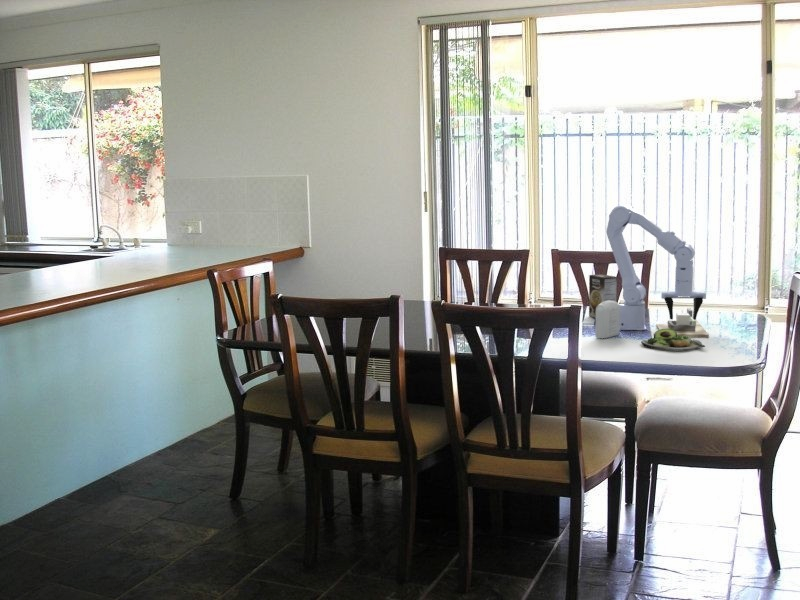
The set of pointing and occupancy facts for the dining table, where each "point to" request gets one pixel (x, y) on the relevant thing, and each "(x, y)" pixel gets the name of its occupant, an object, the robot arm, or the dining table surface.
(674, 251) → the robot arm
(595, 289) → the coffee box
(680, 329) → the beige board
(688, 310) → the gate
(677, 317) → the white cube block
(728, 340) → the dining table surface
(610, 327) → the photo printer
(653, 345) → the salad plate
